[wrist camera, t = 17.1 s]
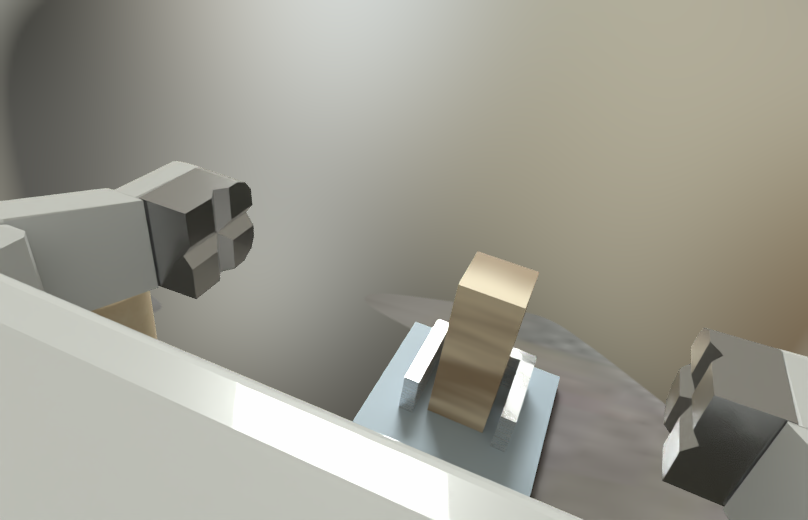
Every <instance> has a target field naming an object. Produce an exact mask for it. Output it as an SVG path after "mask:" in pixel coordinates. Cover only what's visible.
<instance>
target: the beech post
mask: <svg viewBox="0 0 808 520" xmlns="http://www.w3.org/2000/svg"><path fill="white" fill-rule="evenodd" d="M538 274H539V272H537V271H534V270H531V269H528V268H525V267H522V266H519V265H516V264H514V263H511V262H508V261H505V260H502V259H499V258H496V257H493V256H490V255H487V254H484V253H481V252H477V253H476V255H475V257H474V258H473V260H472V262H471V264H470V265H469V267H468V269H467V270H466V272H465V274H464V276H463V278H462V279H461V281H460V283H459V284H458V289H457V292H456V296H455V300H454V304H453V308H452V312H451V316H450V320H449V324H448V328H447V332H446V337H445V341H444V345H443V349H442V353H441V357H440V361H439V365H438V369H437V373H436V377H435V381H434V385H433V389H432V393H431V397H430V401H429V405H428V409H427V410H429V411H432V412H434V413H436V414H439V415H441V416H443V417H446V418H448V419H451V420H453V421H455V422H458V423H460V424H462V425H465V426H467V427H470V428H472V429H474V430H477V431H479V432H481V433H483V430H484V427H485V425H486V422H487V419H488V417H489V414H490V411H491V408H492V406H493V403H494V400H495V398H496V395H497V392H498V389H499V386H500V383H501V381H502V378H503V375H504V372H505V369H506V366H507V363H508V360H509V358H510V355H511V352H512V349H513V346H514V343H515V340H516V337H517V335H518V332H519V329H520V326H521V323H522V320H523V317H524V314H525V312H526V309H527V306H528V303H529V300H530V297H531V294H532V291H533V289H534V286H535V283H536V280H537V277H538Z"/></svg>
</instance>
